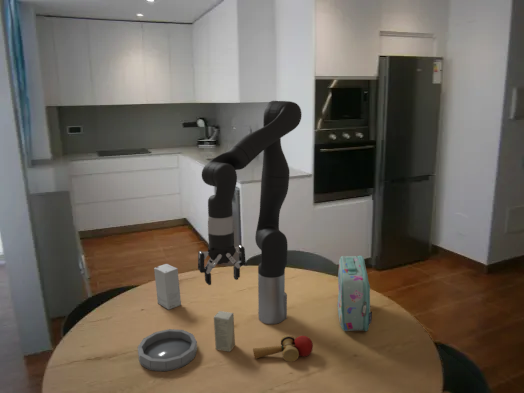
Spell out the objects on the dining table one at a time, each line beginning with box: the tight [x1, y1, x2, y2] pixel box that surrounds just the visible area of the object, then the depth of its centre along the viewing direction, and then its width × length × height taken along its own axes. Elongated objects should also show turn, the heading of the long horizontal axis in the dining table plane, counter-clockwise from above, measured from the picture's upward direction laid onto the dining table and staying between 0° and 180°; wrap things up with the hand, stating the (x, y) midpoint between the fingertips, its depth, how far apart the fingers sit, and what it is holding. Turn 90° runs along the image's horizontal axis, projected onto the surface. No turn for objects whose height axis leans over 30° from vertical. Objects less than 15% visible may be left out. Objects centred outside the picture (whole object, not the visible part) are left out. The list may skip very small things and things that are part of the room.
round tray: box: [137, 328, 198, 372], centre depth 126 cm, size 17×17×3 cm
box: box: [213, 310, 236, 352], centre depth 128 cm, size 5×4×11 cm
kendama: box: [252, 334, 314, 362], centre depth 124 cm, size 8×6×18 cm
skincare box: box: [153, 263, 182, 311], centre depth 156 cm, size 8×6×15 cm
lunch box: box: [336, 255, 373, 332], centre depth 144 cm, size 27×10×21 cm, turn 173°
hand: (222, 281), depth 125 cm, fingers open, 8 cm apart
